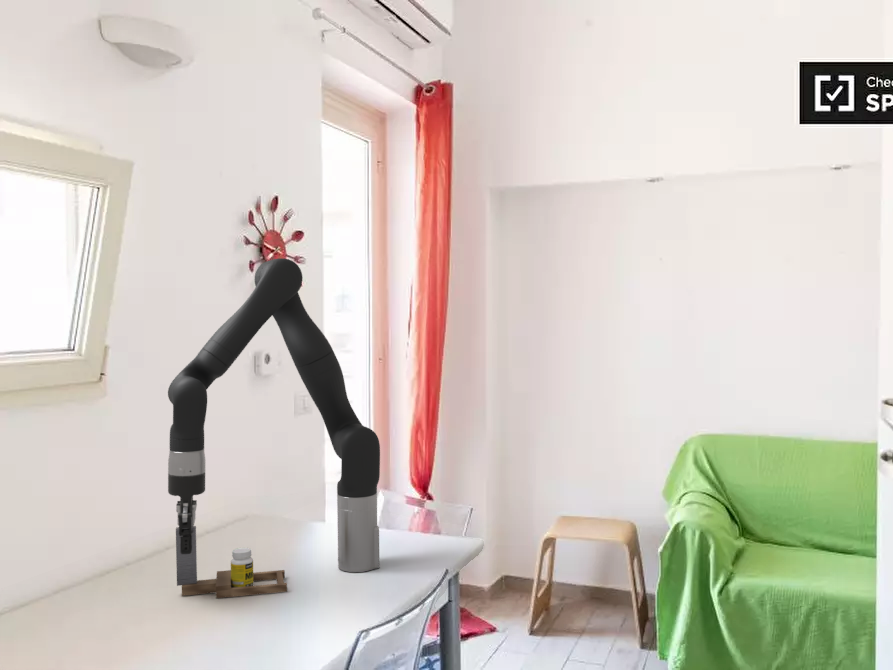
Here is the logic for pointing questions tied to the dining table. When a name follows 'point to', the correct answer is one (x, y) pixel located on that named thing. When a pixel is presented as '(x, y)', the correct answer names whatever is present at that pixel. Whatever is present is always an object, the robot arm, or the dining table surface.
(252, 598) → the dining table surface
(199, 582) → the strip frame
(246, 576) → the supplement bottle
